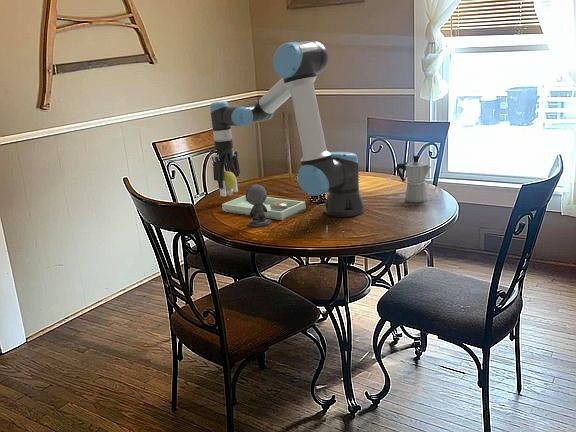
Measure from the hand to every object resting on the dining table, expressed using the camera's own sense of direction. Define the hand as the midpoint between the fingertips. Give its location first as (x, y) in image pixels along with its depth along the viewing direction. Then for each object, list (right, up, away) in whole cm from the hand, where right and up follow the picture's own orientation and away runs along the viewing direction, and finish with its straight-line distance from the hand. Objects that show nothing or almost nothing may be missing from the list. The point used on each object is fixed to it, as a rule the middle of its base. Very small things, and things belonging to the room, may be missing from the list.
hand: (229, 193), depth 247 cm
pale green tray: (+15, -7, -13) cm, 21 cm away
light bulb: (0, -1, 0) cm, 1 cm away
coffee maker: (+75, -3, -12) cm, 77 cm away
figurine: (+14, -13, -30) cm, 35 cm away
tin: (+22, -7, -17) cm, 29 cm away
